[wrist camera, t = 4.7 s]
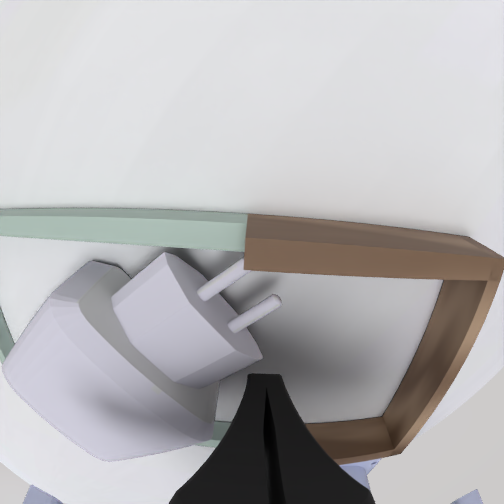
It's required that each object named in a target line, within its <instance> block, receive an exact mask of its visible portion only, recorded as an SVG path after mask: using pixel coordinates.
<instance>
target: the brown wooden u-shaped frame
mask: <svg viewBox="0 0 504 504" xmlns="http://www.w3.org/2000/svg"><path fill="white" fill-rule="evenodd" d="M243 270H252V271H268V272H284V273H302V274H321V275H340V276H362V277H385V278H411V279H442V280H444V282H443V285H442V288H441V291H440V294H439V297H438V300H437V303H436V305H435V308H434V311H433V314H432V316H431V319H430V321H429V324H428V326H427V329H426V331H425V334H424V336H423V338H422V341H421V343H420V345H419V348H418V350H417V352H416V354H415V356H414V358H413V361H412V363H411V365H410V367H409V369H408V371H407V373H406V375H405V377H404V379H403V381H402V383H401V384H400V386H399V388H398V390H397V392H396V394H395V396H394V397H393V399H392V401H391V403H390V404H389V406H388V408H387V409H386V411H385V413H384V414H383V416H382V417H376V418H369V419H362V420H353V421H343V422H332V423H316V424H305V425H306V427H307V428H308V430H309V431H310V433H311V434H312V436H313V437H314V438H315V440H316V441H317V442H318V443H319V445H320V446H321V447H322V448H323V449H324V451H325V452H326V453H327V454H328V455H329V456H330V457H331V458H332V459H333V460H334V461H335V462H336V463H337V464H338V465H344V464H351V463H357V462H363V461H369V460H374V459H379V458H384V457H389V456H393V455H397V454H401V453H402V451H403V450H404V449H405V448H406V447H407V446H408V444H409V443H410V442H411V441H412V440H413V438H414V437H415V436H416V435H417V433H418V432H419V431H420V429H421V428H422V427H423V425H424V424H425V423H426V421H427V420H428V419H429V417H430V416H431V415H432V413H433V412H434V410H435V409H436V407H437V406H438V404H439V403H440V401H441V400H442V398H443V397H444V395H445V394H446V392H447V391H448V389H449V388H450V386H451V384H452V383H453V381H454V379H455V378H456V376H457V374H458V373H459V371H460V369H461V367H462V365H463V364H464V362H465V360H466V358H467V356H468V354H469V352H470V351H471V349H472V347H473V345H474V343H475V341H476V338H477V336H478V334H479V332H480V330H481V328H482V326H483V323H484V321H485V319H486V316H487V314H488V312H489V309H490V307H491V304H492V302H493V299H494V296H495V294H496V291H497V288H498V285H499V283H500V280H501V277H502V274H503V270H504V257H502V256H501V255H499V254H497V253H496V252H494V251H492V250H491V249H489V248H487V247H486V246H484V245H482V244H481V243H479V242H477V241H475V240H473V239H472V238H470V237H465V236H459V235H452V234H445V233H437V232H430V231H422V230H415V229H407V228H398V227H390V226H381V225H372V224H363V223H353V222H343V221H333V220H322V219H311V218H299V217H287V216H274V215H259V214H248V217H247V227H246V236H245V252H244V269H243Z"/></svg>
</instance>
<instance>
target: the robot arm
mask: <svg viewBox="0 0 504 504" xmlns="http://www.w3.org/2000/svg"><path fill="white" fill-rule="evenodd" d="M379 460H381V458H379V459H374V460H369V461H363V462H357V463H351V464H344V465H338V464H337V463H336V462H335V461H334V460H333V459H332V458H331V457H330V456H329V455H328V454H327V453H326V452H325V451H324V449H323V448H322V447H321V446H320V445H319V443H318V442H317V441H316V440H315V438H314V437H313V436H312V434H311V433H310V431H309V430H308V428H307V427H306V425H305V424H304V422H303V421H302V419H301V417H300V416H299V414H298V412H297V410H296V408H295V406H294V405H293V403H292V401H291V399H290V396H289V394H288V392H287V390H286V387H285V385H284V382H283V379H282V376H281V375H280V374H254V373H250V374H249V375H248V379H247V385H246V389H245V392H244V395H243V398H242V401H241V403H240V406H239V408H238V410H237V413H236V415H235V417H234V419H233V421H232V422H231V424H230V426H229V428H228V430H227V432H226V433H225V435H224V437H223V438H222V440H221V441H220V443H219V444H218V446H217V447H216V448H215V450H214V451H213V453H212V454H211V455H210V457H209V458H208V459H207V460H206V462H205V463H204V464H203V465H202V466H201V467H200V468H199V470H198V471H197V472H196V473H195V474H194V475H193V476H192V477H191V478H190V479H189V480H188V481H187V482H186V483H185V484H184V485H183V486H182V487H181V488H179V489H178V490H177V491H176V493H175V494H174V496H173V497H172V499H171V501H170V502H169V504H375V501H374V499H373V496H372V494H371V491H370V487H369V483H368V479H367V474H368V473H369V472H370V471H371V470H372V469H373V468H374V467H375V465H376V464H377V463H378V462H379ZM23 504H63V503H62V502H61V501H60V500H58V499H57V498H55V497H53V496H51V495H50V494H48V493H46V492H44V491H42V490H41V489H39V488H37V487H35V486H34V485H30V488H29V490H28V492H27V495H26V497H25V499H24V502H23ZM451 504H483V502H482V500H481V497H480V495H479V492H478V490H477V489H476V490H474V491H472V492H470V493H468V494H466V495H464V496H462V497H461V498H459V499H457V500H456V501H454V502H452V503H451Z"/></svg>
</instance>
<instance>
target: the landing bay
mask: <svg viewBox="0 0 504 504" xmlns="http://www.w3.org/2000/svg"><path fill="white" fill-rule="evenodd" d="M247 217H248V214H244V213H228V212H210V211H189V210H163V209H128V208H26V209H0V236H9V237H24V238H39V239H54V240H69V241H85V242H100V243H115V244H130V245H145V246H161V247H176V248H191V249H206V250H222V251H237V252H245V236H246V227H247ZM13 346H14V342H13V340H12V337H11V335H10V333H9V330H8V327H7V325H6V322H5V319H4V317H3V314H2V311H1V308H0V361H1V363H2V364H3V362H4V360H5V359H6V357H7V356H8V354H9V352H10V351H11V349H12V348H13ZM230 424H231V423H229V422H217V421H215V422H214V430H213V436H212V438H211V440H208V441H206V442H202V443H199V444H195V445H198V446H206V447H217V446H218V444H219V443H220V441H221V440H222V438H223V437H224V435H225V433H226V432H227V430H228V428H229V426H230Z"/></svg>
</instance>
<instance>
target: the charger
mask: <svg viewBox="0 0 504 504" xmlns="http://www.w3.org/2000/svg"><path fill="white" fill-rule="evenodd" d="M243 269H244V258H241V259H240V260H239V261H237V262H236V263H234V264H233V265H231V266H230V267H229V268H227V269H226V270H224V271H223V272H221V273H220V274H219V275H217V276H216V277H214V278H213V279H211V280H210V281H209V282H208V280H207V279H206V278H205V277H204V276H203V275H202V274H201V273H199V272H198V271H197V270H195V269H194V268H193V267H191V266H190V265H188V264H187V263H186V262H184V261H183V260H182V259H180V258H179V257H177V256H176V255H173V254H170V253H167V252H164V253H162V254H161V255H160V256H159V257H158V258H156V259H155V260H154V261H153V262H152V263H150V264H149V265H148V266H147V267H146V268H144V269H143V270H142V271H141V272H140V273H138V274H137V275H136V276H135V277H134V278H133V279H131V278H130V277H129V276H128V275H127V274H126V273H125V272H124V271H123V270H122V269H120V268H119V267H116V266H112V265H108V264H104V263H99V262H95V261H89V262H88V263H86V264H85V265H84V266H83V267H81V268H80V269H79V270H78V271H77V272H75V273H74V274H73V275H72V276H71V277H70V278H68V279H67V280H66V281H65V282H64V283H62V284H61V285H60V286H59V287H58V288H57V289H56V290H54V291H53V292H52V293H51V294H50V296H49V297H48V298H47V300H46V301H45V302H44V304H43V305H42V306H41V308H40V309H39V310H38V312H37V313H36V314H35V316H34V317H33V318H32V320H31V321H30V323H29V324H28V325H27V327H26V328H25V330H24V331H23V333H22V334H21V336H20V337H19V339H18V340H17V342H16V343H15V345H14V346H13V348H12V349H11V351H10V352H9V354H8V356H7V357H6V359H5V360H4V362H3V364H2V371H3V374H4V376H5V379H6V380H7V382H8V384H9V385H10V387H11V388H12V389H13V390H14V391H15V392H16V393H17V394H18V395H19V396H20V397H21V398H22V399H23V400H24V401H25V402H26V403H27V404H28V405H29V406H30V407H31V408H32V409H33V410H34V411H35V412H36V413H38V414H39V415H40V416H41V417H42V418H43V419H44V420H46V421H47V422H48V423H49V424H50V425H52V426H53V427H54V428H55V429H56V430H58V431H59V432H60V433H61V434H63V435H64V436H65V437H67V438H68V439H69V440H71V441H72V442H73V443H75V444H76V445H77V446H79V447H80V448H82V449H83V450H85V451H86V452H87V453H89V454H90V455H92V456H94V457H96V458H97V459H100V460H103V461H108V462H112V461H119V460H126V459H132V458H138V457H143V456H149V455H154V454H158V453H163V452H167V451H172V450H176V449H180V448H184V447H188V446H192V445H195V444H199V443H202V442H206V441H208V440H211V438H212V436H213V430H214V422H215V415H216V407H217V400H218V392H219V382H220V380H221V379H223V378H225V377H227V376H229V375H231V374H233V373H235V372H237V371H239V370H241V369H243V368H245V367H247V366H249V365H251V364H253V363H255V362H257V361H259V360H261V359H263V356H262V354H261V352H260V350H259V347H258V345H257V343H256V341H255V340H254V338H253V337H252V335H251V334H250V332H249V331H248V329H247V328H246V327H247V326H249V325H251V324H252V323H254V322H256V321H257V320H259V319H261V318H262V317H264V316H266V315H267V314H269V313H270V312H272V311H274V310H275V309H277V308H279V307H280V306H281V305H282V302H281V299H280V297H279V296H278V295H275V294H272V295H271V296H269V297H268V298H266V299H265V300H263V301H261V302H260V303H258V304H257V305H255V306H254V307H252V308H250V309H249V310H247V311H246V312H244V313H242V314H241V315H238V314H237V313H236V312H235V310H234V309H233V308H232V307H231V306H230V305H229V304H228V303H227V302H226V301H225V299H224V298H223V297H222V296H221V295H220V294H219V292H220V291H222V290H223V289H225V288H226V287H228V286H229V285H231V284H232V283H234V282H235V281H237V280H238V279H240V278H241V277H243V276H244V275H246V274H247V273H249V272H250V271H252V270H243Z"/></svg>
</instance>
